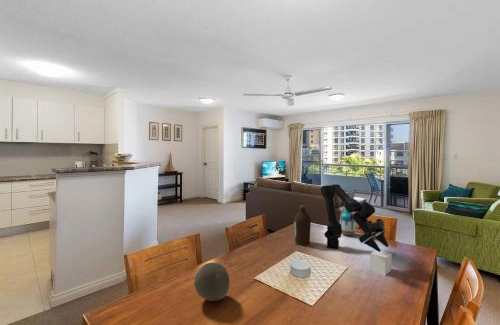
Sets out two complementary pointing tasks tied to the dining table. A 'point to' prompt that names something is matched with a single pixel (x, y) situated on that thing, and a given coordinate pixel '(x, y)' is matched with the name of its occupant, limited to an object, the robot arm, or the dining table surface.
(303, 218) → the olive oil
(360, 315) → the dining table surface
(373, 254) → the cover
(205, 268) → the dark grey ball
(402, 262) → the grey square tile
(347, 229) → the vase
